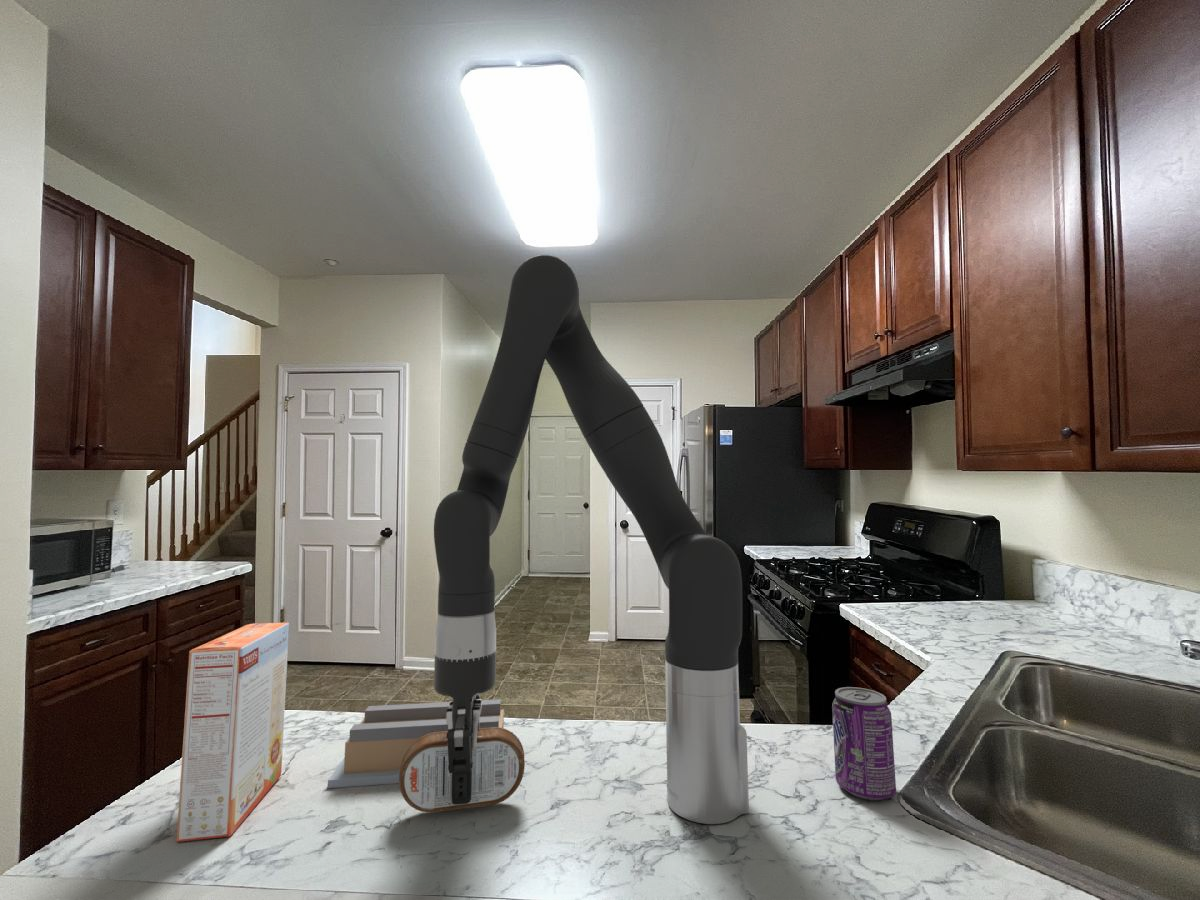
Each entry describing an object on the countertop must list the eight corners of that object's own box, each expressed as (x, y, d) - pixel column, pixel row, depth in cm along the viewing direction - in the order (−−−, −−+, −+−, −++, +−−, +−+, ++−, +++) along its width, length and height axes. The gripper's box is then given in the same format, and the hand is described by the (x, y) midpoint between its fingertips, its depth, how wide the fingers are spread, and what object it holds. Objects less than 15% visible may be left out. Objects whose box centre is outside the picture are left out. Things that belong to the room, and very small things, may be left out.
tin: (523, 791, 67) (524, 721, 68) (526, 803, 64) (526, 730, 65) (399, 807, 64) (401, 733, 65) (395, 821, 61) (398, 743, 62)
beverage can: (841, 771, 74) (837, 682, 75) (899, 787, 70) (893, 692, 71) (830, 793, 68) (825, 696, 69) (892, 811, 64) (886, 708, 65)
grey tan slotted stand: (512, 738, 85) (513, 695, 85) (511, 774, 73) (512, 724, 74) (355, 748, 81) (357, 703, 82) (327, 788, 69) (330, 735, 70)
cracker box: (234, 781, 71) (246, 622, 74) (282, 777, 72) (293, 620, 75) (169, 845, 58) (186, 647, 60) (230, 839, 59) (244, 645, 61)
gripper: (493, 662, 60) (491, 825, 58) (498, 634, 74) (496, 765, 72) (425, 666, 59) (420, 832, 57) (443, 637, 73) (440, 770, 71)
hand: (463, 794), depth 64 cm, fingers closed on tin, 2 cm apart
